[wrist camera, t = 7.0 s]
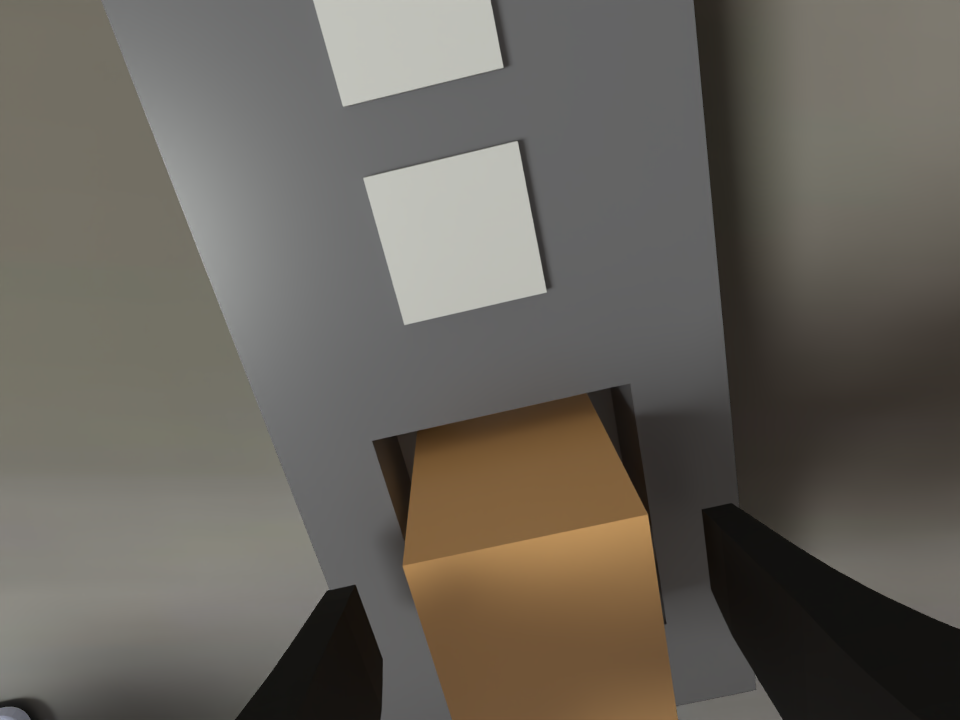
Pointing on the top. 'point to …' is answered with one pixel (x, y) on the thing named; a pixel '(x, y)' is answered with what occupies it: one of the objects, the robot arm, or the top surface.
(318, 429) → the power strip
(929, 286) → the top surface
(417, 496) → the plug block
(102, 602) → the top surface
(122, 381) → the top surface
